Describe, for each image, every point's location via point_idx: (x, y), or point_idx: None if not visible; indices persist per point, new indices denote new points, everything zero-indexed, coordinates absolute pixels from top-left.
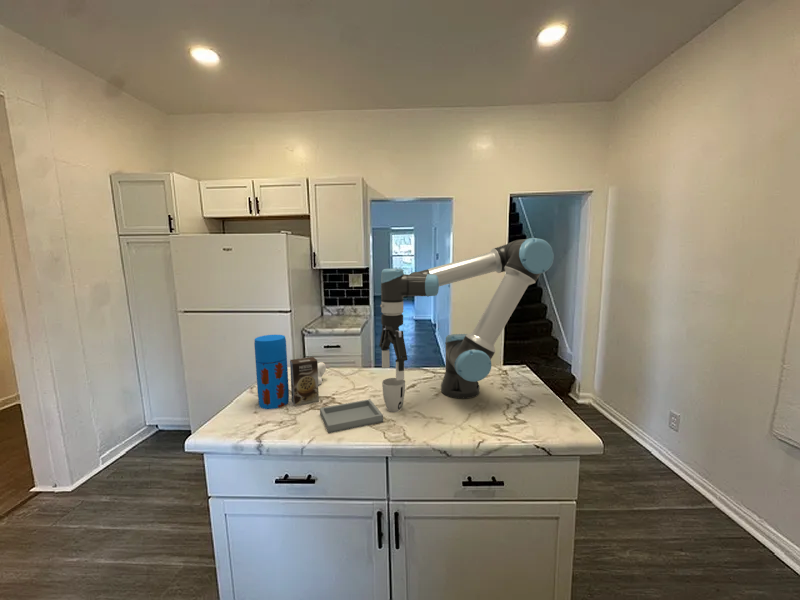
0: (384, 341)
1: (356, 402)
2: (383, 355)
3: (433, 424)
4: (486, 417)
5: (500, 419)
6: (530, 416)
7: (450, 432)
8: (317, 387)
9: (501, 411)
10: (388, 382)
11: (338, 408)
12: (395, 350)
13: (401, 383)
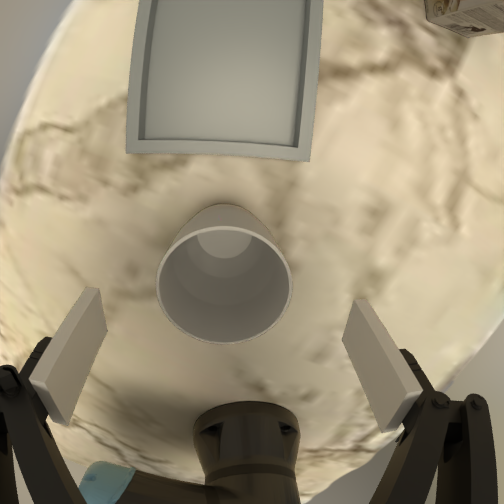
0: (402, 497)
1: (305, 93)
2: (388, 369)
3: (71, 291)
4: (86, 399)
5: (74, 409)
6: (81, 440)
7: (29, 303)
8: (460, 5)
9: (108, 429)
10: (283, 274)
11: (307, 20)
12: (29, 466)
13: (240, 324)
